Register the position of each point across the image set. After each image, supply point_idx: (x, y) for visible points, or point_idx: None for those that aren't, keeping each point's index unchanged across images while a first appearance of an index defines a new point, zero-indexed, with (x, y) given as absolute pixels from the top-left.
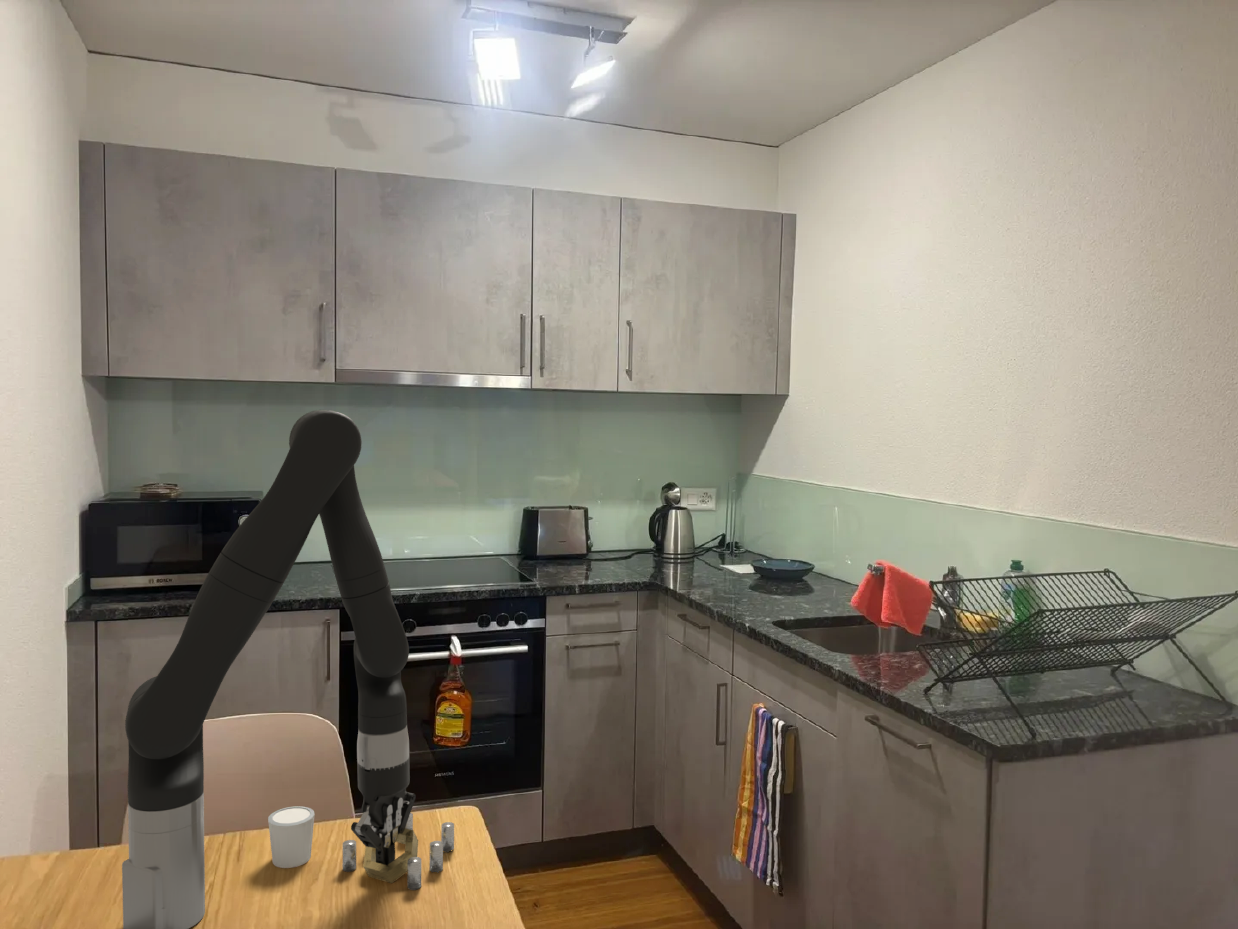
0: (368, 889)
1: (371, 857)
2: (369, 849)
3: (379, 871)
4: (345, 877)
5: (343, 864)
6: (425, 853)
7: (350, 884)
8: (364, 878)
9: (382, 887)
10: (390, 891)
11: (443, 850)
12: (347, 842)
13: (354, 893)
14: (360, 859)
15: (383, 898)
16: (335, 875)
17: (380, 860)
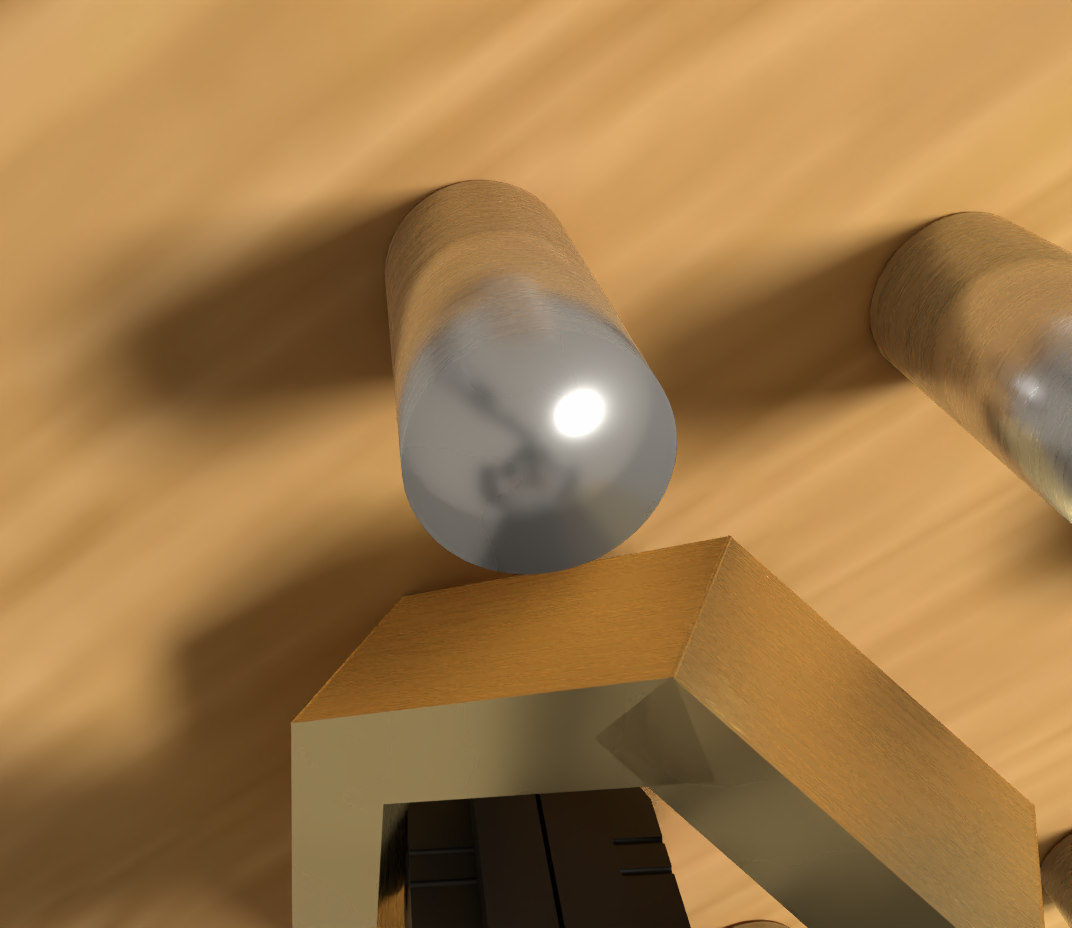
0: (177, 736)
1: (442, 793)
2: (541, 763)
3: (302, 900)
4: (264, 366)
5: (392, 274)
6: (1008, 759)
7: (155, 523)
8: (354, 574)
9: (284, 811)
10: (259, 896)
11: (1055, 868)
12: (548, 416)
13: (21, 673)
14: (756, 252)
15: (120, 918)
16: (240, 205)
17: (408, 923)
